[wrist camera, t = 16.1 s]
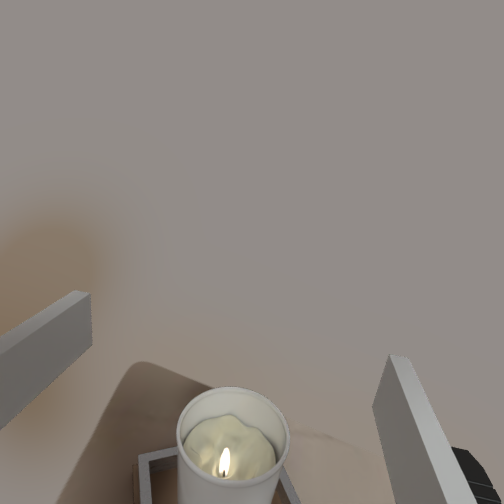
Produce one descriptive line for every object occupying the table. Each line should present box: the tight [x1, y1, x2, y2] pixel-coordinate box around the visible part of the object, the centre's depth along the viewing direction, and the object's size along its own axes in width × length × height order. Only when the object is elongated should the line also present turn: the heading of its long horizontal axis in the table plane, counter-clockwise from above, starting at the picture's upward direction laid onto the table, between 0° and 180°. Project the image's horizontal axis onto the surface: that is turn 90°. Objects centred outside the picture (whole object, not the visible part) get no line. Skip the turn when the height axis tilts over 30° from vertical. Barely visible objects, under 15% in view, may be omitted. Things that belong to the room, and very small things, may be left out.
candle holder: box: [176, 386, 290, 504], centre depth 30 cm, size 10×10×12 cm
